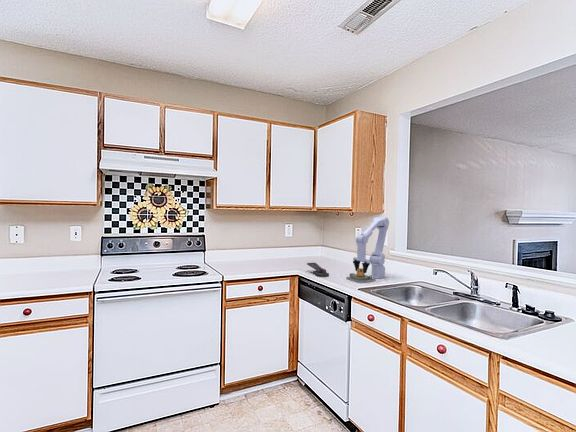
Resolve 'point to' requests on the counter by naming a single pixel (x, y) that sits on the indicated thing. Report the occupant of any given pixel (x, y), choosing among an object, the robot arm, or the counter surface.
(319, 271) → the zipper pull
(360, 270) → the wooden rectangular peg
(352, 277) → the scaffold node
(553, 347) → the counter surface
